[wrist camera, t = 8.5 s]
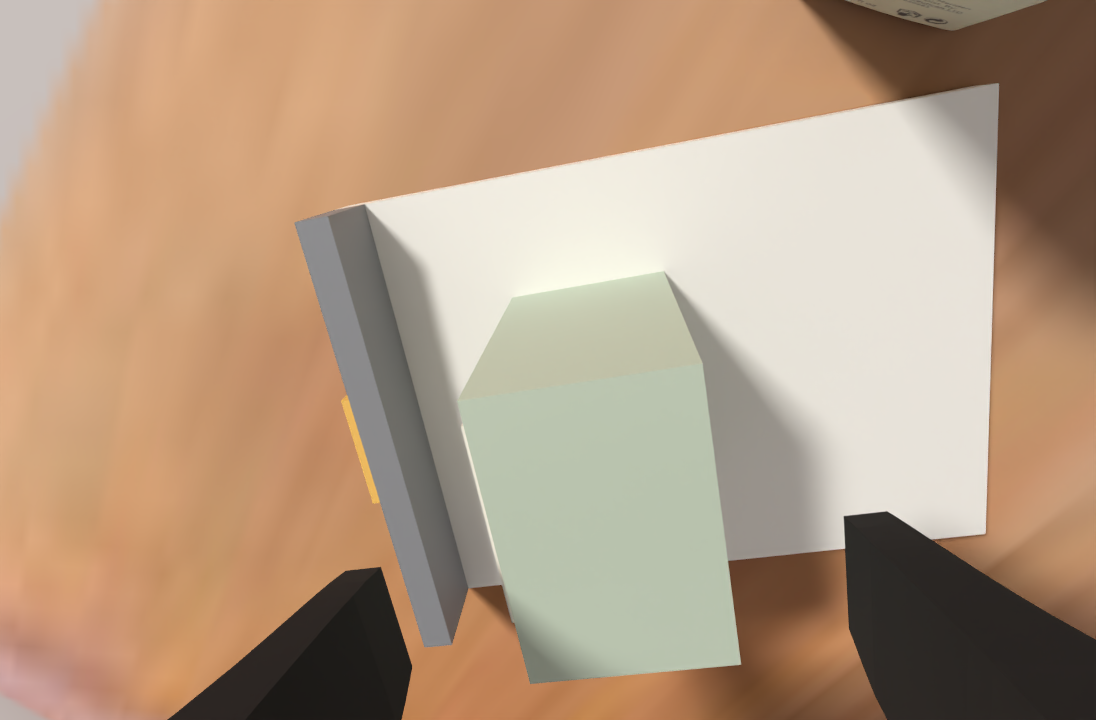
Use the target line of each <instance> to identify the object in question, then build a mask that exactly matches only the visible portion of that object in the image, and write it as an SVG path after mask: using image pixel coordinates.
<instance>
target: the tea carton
mask: <svg viewBox="0 0 1096 720" xmlns="http://www.w3.org/2000/svg"><path fill="white" fill-rule="evenodd" d="M457 403H458V407H459V411H460V415H461V418H462V422H463V423H462V425H461V429H462V433H463V437H464V441H465V445H466V448H467V452H468V456H469V460H470V464H471V468H472V471H473V475H474V479H475V483H476V487H477V491H478V494H479V498H480V502H481V506H482V510H483V514H484V518H485V521H486V525H487V529H488V533H489V537H490V541H491V544H492V548H493V552H494V556H495V560H496V564H497V567H498V571H499V575H500V579H501V583H502V587H503V590H504V594H505V598H506V602H507V606H508V610H509V613H510V617H511V621H512V623H515V627H516V631H517V634H518V638H519V642H520V646H521V650H522V654H523V658H524V662H525V665H526V669H527V673H528V677H529V681H530V684H534V683H545V682H556V681H567V680H578V679H589V678H600V677H611V676H622V675H633V674H644V673H655V672H666V671H677V670H688V669H699V668H711V667H722V666H733V665H741V660H740V652H739V644H738V636H737V628H736V621H735V613H734V605H733V597H732V589H731V582H730V574H729V566H728V558H727V550H726V542H725V535H724V527H723V519H722V511H721V503H720V495H719V488H718V480H717V472H716V464H715V456H714V449H713V441H712V433H711V425H710V417H709V409H708V402H707V394H706V386H705V378H704V370H703V363H702V361H701V358H700V356H699V354H698V351H697V349H696V347H695V344H694V342H693V339H692V337H691V335H690V332H689V330H688V328H687V325H686V323H685V320H684V318H683V316H682V313H681V311H680V308H679V306H678V304H677V301H676V299H675V297H674V294H673V292H672V289H671V287H670V285H669V282H668V280H667V278H666V275H665V273H664V271H661V272H656V273H650V274H644V275H638V276H633V277H627V278H621V279H615V280H610V281H604V282H598V283H593V284H587V285H581V286H575V287H570V288H564V289H558V290H552V291H547V292H541V293H535V294H529V295H524V296H518V297H512V299H511V301H510V303H509V305H508V306H507V308H506V310H505V312H504V314H503V316H502V318H501V320H500V321H499V323H498V325H497V327H496V329H495V331H494V333H493V335H492V337H491V338H490V340H489V342H488V344H487V346H486V348H485V350H484V352H483V353H482V355H481V357H480V359H479V361H478V363H477V365H476V367H475V368H474V370H473V372H472V374H471V376H470V378H469V380H468V382H467V383H466V385H465V387H464V389H463V391H462V393H461V395H460V397H459V399H458V400H457Z"/></svg>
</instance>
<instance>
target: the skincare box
mask: <svg viewBox="0 0 1096 720" xmlns="http://www.w3.org/2000/svg"><path fill="white" fill-rule="evenodd" d="M846 1H849V2H852V3H854V4H857V5H861V6H864V7H867V8H870V9H873V10H876V11H879V12H882V13H885V14H889V15H892V16H895V17H899V18H902V19H906V20H910V21H913V22H917V23H921V24H925V25H929V26H933V27H937V28H940V29H945V30H949V31H954V30H958V29H961V28H964V27H967V26H970V25H973V24H977V23H980V22H983V21H986V20H990V19H993V18H996V17H999V16H1002V15H1005V14H1008V13H1011V12H1014V11H1017V10H1020V9H1023V8H1026V7H1029V6H1032V5H1036V4H1039V3H1042V2H1044V1H1047V0H846Z"/></svg>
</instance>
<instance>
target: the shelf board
mask: <svg viewBox="0 0 1096 720" xmlns="http://www.w3.org/2000/svg"><path fill="white" fill-rule="evenodd" d="M998 105H999V83H994V84H985V85H976V86H971V87H966V88H960V89H955V90H950V91H945V92H939V93H934V94H929V95H924V96H919V97H913V98H908V99H903V100H898V101H892V102H887V103H882V104H877V105H872V106H866V107H861V108H856V109H851V110H845V111H840V112H835V113H830V114H825V115H819V116H814V117H809V118H804V119H798V120H793V121H788V122H783V123H778V124H772V125H767V126H762V127H757V128H751V129H746V130H741V131H736V132H731V133H725V134H720V135H715V136H710V137H704V138H699V139H694V140H689V141H684V142H678V143H673V144H668V145H663V146H657V147H652V148H647V149H642V150H637V151H631V152H626V153H621V154H616V155H610V156H605V157H600V158H595V159H590V160H584V161H579V162H574V163H569V164H563V165H558V166H553V167H548V168H543V169H537V170H532V171H527V172H522V173H516V174H511V175H506V176H501V177H496V178H490V179H485V180H480V181H475V182H469V183H464V184H459V185H454V186H449V187H443V188H438V189H433V190H428V191H422V192H417V193H412V194H407V195H402V196H396V197H391V198H386V199H381V200H375V201H370V202H365V203H360V204H355V205H349V206H346V207H343V208H340V209H336V210H333V211H330V212H327V213H324V214H320V215H317V216H314V217H311V218H307V219H304V220H301V221H298V222H295V226H296V229H297V233H298V236H299V239H300V243H301V246H302V249H303V252H304V256H305V259H306V262H307V265H308V269H309V272H310V275H311V278H312V282H313V285H314V288H315V291H316V295H317V298H318V301H319V305H320V308H321V311H322V314H323V318H324V321H325V324H326V327H327V331H328V334H329V337H330V340H331V344H332V347H333V350H334V353H335V357H336V360H337V363H338V366H339V370H340V373H341V376H342V380H343V383H344V386H345V389H346V393H347V395H346V397H345V398H344V399H343V400H342V401H341V402H342V405H343V408H344V412H345V415H346V418H347V421H348V425H349V428H350V431H351V434H352V437H353V441H354V444H355V447H356V450H357V454H358V457H359V460H360V463H361V466H362V470H363V473H364V476H365V479H366V483H367V486H368V489H369V492H370V495H371V499H372V502H373V504H374V503H381V507H382V510H383V513H384V517H385V520H386V523H387V526H388V530H389V533H390V536H391V539H392V543H393V546H394V549H395V552H396V556H397V559H398V562H399V565H400V569H401V572H402V575H403V579H404V582H405V585H406V588H407V592H408V595H409V598H410V601H411V605H412V608H413V611H414V614H415V618H416V621H417V624H418V627H419V631H420V634H421V637H422V640H423V644H424V647H434V646H444V645H452V643H453V639H454V636H455V632H456V629H457V626H458V622H459V619H460V615H461V612H462V608H463V605H464V602H465V598H466V595H467V591H468V588H475V587H485V586H494V585H502V583H501V579H500V575H499V571H498V567H497V564H496V560H495V556H494V552H493V548H492V544H491V541H490V537H489V533H488V529H487V525H486V521H485V518H484V514H483V510H482V506H481V502H480V498H479V494H478V491H477V487H476V483H475V479H474V475H473V471H472V468H471V464H470V460H469V456H468V452H467V448H466V445H465V441H464V437H463V433H462V429H461V425H462V423H463V422H462V418H461V415H460V411H459V407H458V403H457V400H458V399H459V397H460V395H461V393H462V391H463V389H464V387H465V385H466V383H467V382H468V380H469V378H470V376H471V374H472V372H473V370H474V368H475V367H476V365H477V363H478V361H479V359H480V357H481V355H482V353H483V352H484V350H485V348H486V346H487V344H488V342H489V340H490V338H491V337H492V335H493V333H494V331H495V329H496V327H497V325H498V323H499V321H500V320H501V318H502V316H503V314H504V312H505V310H506V308H507V306H508V305H509V303H510V301H511V299H512V297H518V296H524V295H529V294H535V293H541V292H547V291H552V290H558V289H564V288H570V287H575V286H581V285H587V284H593V283H598V282H604V281H610V280H615V279H621V278H627V277H633V276H638V275H644V274H650V273H656V272H661V271H664V273H665V275H666V278H667V280H668V282H669V285H670V287H671V289H672V292H673V294H674V297H675V299H676V301H677V304H678V306H679V308H680V311H681V313H682V316H683V318H684V320H685V323H686V325H687V328H688V330H689V332H690V335H691V337H692V339H693V342H694V344H695V347H696V349H697V351H698V354H699V356H700V358H701V361H702V363H703V370H704V378H705V386H706V394H707V402H708V409H709V417H710V425H711V433H712V441H713V449H714V456H715V464H716V472H717V480H718V488H719V495H720V503H721V511H722V519H723V527H724V535H725V542H726V550H727V558H728V561H732V560H742V559H751V558H761V557H770V556H780V555H789V554H799V553H808V552H818V551H827V550H837V549H845V535H844V516H849V515H858V514H867V513H876V512H885V511H888V512H889V513H891V514H893V515H894V516H896V517H897V518H899V519H901V520H902V521H904V522H905V523H907V524H908V525H910V526H911V527H913V528H914V529H916V530H917V531H919V532H920V533H922V534H923V535H925V536H926V537H928V538H929V539H931V540H932V539H941V538H951V537H960V536H970V535H979V534H986V503H987V469H988V436H989V403H990V370H991V337H992V304H993V271H994V238H995V205H996V171H997V138H998Z"/></svg>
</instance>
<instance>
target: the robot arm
mask: <svg viewBox="0 0 1096 720" xmlns="http://www.w3.org/2000/svg"><path fill="white" fill-rule="evenodd" d="M844 535H845V556H846V576H847V597H848V617H849V630H850V632H851V635H852V638H853V640H854V643H855V646H856V648H857V651H858V653H859V656H860V659H861V661H862V664H863V667H864V669H865V672H866V674H867V677H868V679H869V682H870V684H871V687H872V689H873V692H874V694H875V697H876V698H877V700H878V702H879V704H880V706H881V708H882V710H883V712H884V714H885V716H886V718H887V720H1096V640H1095V639H1093V638H1091V637H1090V636H1088V635H1086V634H1084V633H1082V632H1081V631H1079V630H1077V629H1075V628H1074V627H1072V626H1070V625H1068V624H1066V623H1065V622H1063V621H1061V620H1059V619H1057V618H1056V617H1054V616H1052V615H1050V614H1049V613H1047V612H1045V611H1044V610H1042V609H1040V608H1039V607H1037V606H1035V605H1034V604H1032V603H1030V602H1029V601H1027V600H1025V599H1023V598H1022V597H1020V596H1019V595H1017V594H1015V593H1014V592H1012V591H1010V590H1009V589H1007V588H1005V587H1004V586H1002V585H1001V584H999V583H998V582H996V581H994V580H993V579H991V578H990V577H988V576H986V575H985V574H983V573H982V572H980V571H978V570H977V569H975V568H974V567H972V566H971V565H969V564H968V563H966V562H964V561H963V560H961V559H960V558H958V557H957V556H955V555H954V554H952V553H951V552H949V551H948V550H946V549H945V548H943V547H942V546H940V545H938V544H937V543H935V542H934V541H932V540H931V539H929V538H928V537H926V536H925V535H923V534H922V533H920V532H919V531H917V530H916V529H914V528H913V527H911V526H910V525H908V524H907V523H905V522H904V521H902V520H901V519H899V518H897V517H896V516H894V515H893V514H891V513H889V512H888V511H885V512H876V513H867V514H858V515H849V516H844ZM411 671H412V664H411V661H410V658H409V655H408V652H407V649H406V645H405V642H404V639H403V636H402V633H401V630H400V626H399V623H398V620H397V617H396V614H395V611H394V607H393V604H392V601H391V598H390V595H389V592H388V588H387V585H386V582H385V579H384V576H383V573H382V570H381V567H377V568H368V569H359V570H350V571H345V572H344V573H342V574H341V575H340V576H338V577H337V578H336V579H334V580H333V581H332V582H331V583H329V584H328V585H327V586H326V587H325V588H323V589H322V590H321V591H320V592H319V593H317V594H316V595H315V596H314V597H313V598H312V599H310V600H309V601H308V602H307V603H306V604H305V605H304V606H302V607H301V608H300V609H299V610H298V611H297V612H296V613H294V614H293V615H292V616H291V617H290V618H289V619H288V620H286V621H285V622H284V623H283V624H282V625H281V626H280V627H278V628H277V629H276V630H275V631H274V632H273V633H272V634H270V635H269V636H268V637H267V638H266V639H265V640H263V641H262V642H261V643H260V644H259V645H258V646H257V647H255V648H254V649H253V650H252V651H251V652H250V653H249V654H247V655H246V656H245V657H244V658H243V659H242V660H240V661H239V662H238V663H237V664H236V665H235V666H233V667H232V668H231V669H230V670H228V671H227V672H226V673H225V674H223V675H222V676H221V677H220V678H219V679H217V680H216V681H215V682H214V683H212V684H211V685H210V686H209V687H208V688H206V689H205V690H204V691H203V692H201V693H200V694H199V695H198V696H196V697H195V698H194V699H193V700H192V701H190V702H189V703H188V704H187V705H185V706H184V707H183V708H182V709H181V710H179V711H178V712H177V713H176V714H174V715H173V716H172V717H170V718H169V719H168V720H401V719H402V715H403V710H404V706H405V701H406V696H407V691H408V686H409V681H410V676H411Z"/></svg>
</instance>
